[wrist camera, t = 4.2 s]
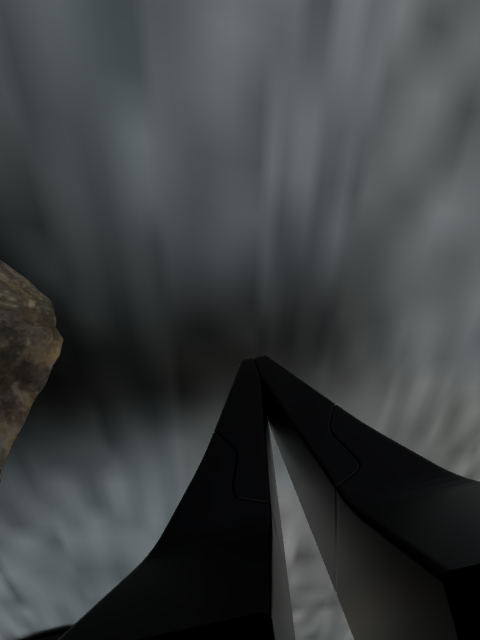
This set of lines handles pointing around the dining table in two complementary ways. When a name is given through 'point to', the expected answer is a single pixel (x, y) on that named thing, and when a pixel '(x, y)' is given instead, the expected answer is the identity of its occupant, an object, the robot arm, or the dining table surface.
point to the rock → (23, 351)
